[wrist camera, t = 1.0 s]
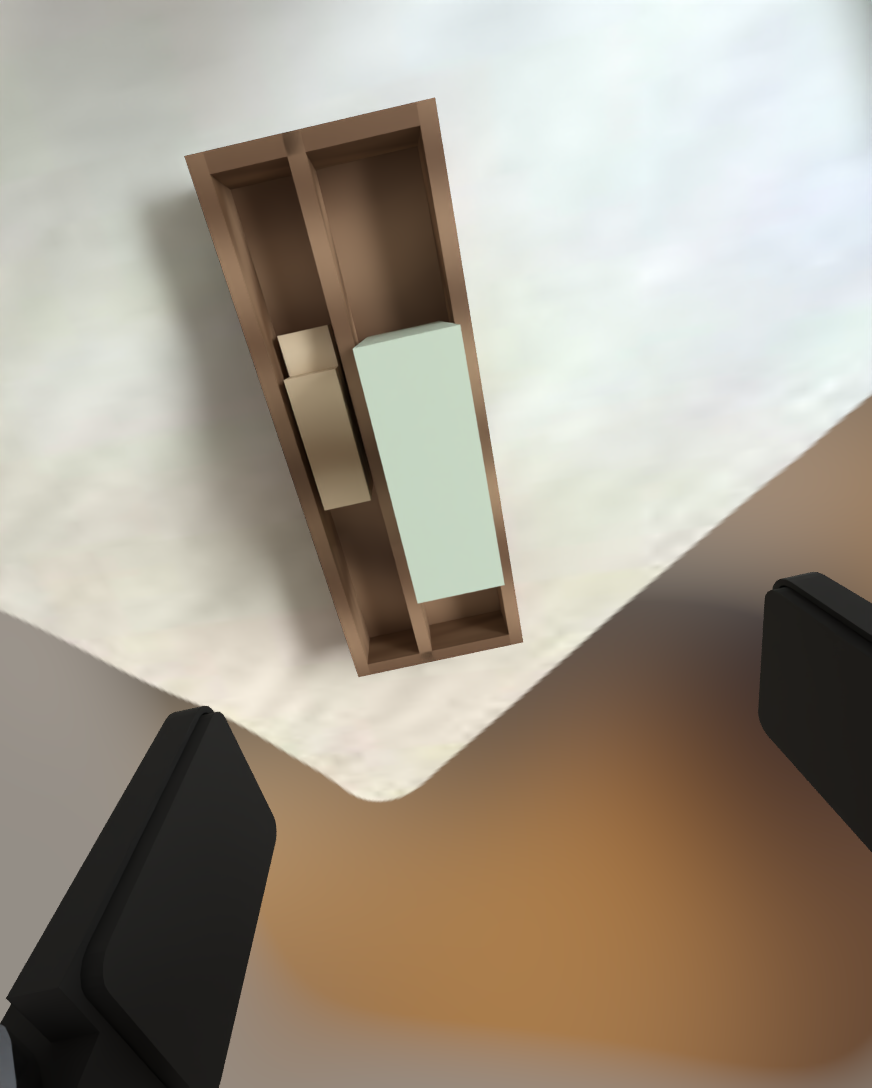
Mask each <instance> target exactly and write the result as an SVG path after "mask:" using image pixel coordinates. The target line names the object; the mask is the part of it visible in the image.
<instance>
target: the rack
mask: <svg viewBox="0 0 872 1088" xmlns="http://www.w3.org/2000/svg"><path fill="white" fill-rule="evenodd" d="M184 157H185V160H186V163H187V166H188V169H189V172H190V175H191V178H192V181H193V184H194V187H195V190H196V193H197V196H198V199H199V202H200V204H201V207H202V210H203V213H204V216H205V219H206V222H207V225H208V228H209V231H210V234H211V237H212V240H213V243H214V246H215V249H216V252H217V255H218V258H219V261H220V264H221V267H222V270H223V273H224V276H225V279H226V282H227V285H228V288H229V291H230V294H231V297H232V300H233V303H234V306H235V309H236V312H237V315H238V318H239V321H240V324H241V327H242V330H243V333H244V336H245V339H246V342H247V345H248V348H249V351H250V354H251V357H252V360H253V363H254V366H255V369H256V372H257V375H258V378H259V381H260V384H261V387H262V390H263V393H264V396H265V399H266V402H267V405H268V408H269V411H270V414H271V417H272V420H273V423H274V426H275V429H276V432H277V435H278V438H279V441H280V444H281V447H282V450H283V453H284V456H285V459H286V462H287V464H288V467H289V470H290V473H291V476H292V479H293V482H294V485H295V488H296V491H297V494H298V497H299V500H300V503H301V506H302V509H303V512H304V515H305V518H306V521H307V524H308V527H309V530H310V533H311V536H312V539H313V542H314V545H315V548H316V551H317V554H318V557H319V560H320V563H321V566H322V569H323V572H324V575H325V578H326V581H327V584H328V587H329V590H330V593H331V596H332V599H333V602H334V605H335V608H336V611H337V614H338V617H339V620H340V623H341V626H342V629H343V632H344V635H345V638H346V641H347V644H348V647H349V650H350V653H351V656H352V659H353V662H354V665H355V668H356V671H357V674H358V677H361V676H366V675H371V674H375V673H380V672H385V671H389V670H394V669H399V668H404V667H408V666H413V665H418V664H422V663H427V662H432V661H437V660H441V659H446V658H451V657H456V656H460V655H465V654H470V653H474V652H479V651H484V650H489V649H493V648H498V647H503V646H508V645H512V644H517V643H522V642H523V638H522V632H521V626H520V620H519V613H518V607H517V601H516V595H515V589H514V583H513V576H512V570H511V564H510V558H509V552H508V546H507V539H506V533H505V527H504V521H503V515H502V508H501V502H500V496H499V490H498V484H497V478H496V471H495V465H494V459H493V453H492V447H491V441H490V434H489V428H488V422H487V416H486V410H485V403H484V397H483V391H482V385H481V379H480V373H479V366H478V360H477V354H476V348H475V342H474V336H473V329H472V323H471V317H470V311H469V305H468V299H467V292H466V286H465V280H464V274H463V268H462V261H461V255H460V249H459V243H458V237H457V231H456V224H455V218H454V212H453V206H452V200H451V194H450V187H449V181H448V175H447V169H446V163H445V156H444V150H443V144H442V138H441V132H440V126H439V119H438V113H437V107H436V101H435V98H431V99H427V100H422V101H418V102H414V103H410V104H405V105H401V106H397V107H393V108H388V109H384V110H380V111H375V112H371V113H367V114H363V115H358V116H354V117H350V118H345V119H341V120H337V121H333V122H328V123H324V124H320V125H316V126H311V127H307V128H303V129H298V130H294V131H290V132H286V133H281V134H277V135H273V136H268V137H264V138H260V139H256V140H251V141H247V142H243V143H239V144H234V145H230V146H226V147H221V148H217V149H213V150H209V151H204V152H200V153H196V154H191V155H187V156H184ZM436 321H443V322H449V323H454V324H460V326H461V332H462V338H463V344H464V350H465V355H466V361H467V367H468V373H469V379H470V385H471V391H472V397H473V402H474V408H475V414H476V420H477V426H478V432H479V438H480V443H481V449H482V455H483V461H484V467H485V473H486V479H487V484H488V490H489V496H490V502H491V508H492V514H493V520H494V526H495V531H496V537H497V543H498V549H499V555H500V561H501V567H502V572H503V578H504V584H505V585H502V586H497V587H493V588H488V589H483V590H479V591H474V592H469V593H465V594H460V595H455V596H451V597H446V598H441V599H437V600H432V601H427V602H423V603H417V599H416V595H415V591H414V587H413V583H412V579H411V575H410V572H409V568H408V564H407V560H406V556H405V552H404V548H403V544H402V540H401V536H400V532H399V528H398V525H397V521H396V517H395V513H394V509H393V505H392V501H391V497H390V493H389V489H388V485H387V482H386V478H385V474H384V470H383V466H382V462H381V458H380V454H379V450H378V446H377V442H376V439H375V435H374V431H373V427H372V423H371V419H370V415H369V411H368V407H367V403H366V399H365V395H364V392H363V388H362V384H361V380H360V376H359V372H358V368H357V364H356V360H355V356H354V352H353V348H354V347H355V346H357V345H358V344H359V343H360V342H362V341H363V340H364V339H365V338H366V337H370V336H374V335H379V334H383V333H388V332H392V331H396V330H401V329H405V328H410V327H414V326H419V325H423V324H428V323H432V322H436ZM330 324H331V326H332V330H333V334H334V338H335V341H336V345H337V349H338V353H339V356H340V360H341V364H342V368H343V371H344V375H345V379H346V382H347V386H348V390H349V394H350V397H351V401H352V405H353V409H354V412H355V416H356V420H357V424H358V427H359V431H360V435H361V439H362V442H363V446H364V450H365V454H366V457H367V461H368V465H369V469H370V472H371V476H372V480H373V489H372V496H371V501H366V502H361V503H357V504H352V505H348V506H343V507H339V508H334V509H329V510H324V507H323V504H322V500H321V497H320V494H319V491H318V488H317V484H316V481H315V478H314V475H313V472H312V469H311V465H310V462H309V459H308V456H307V453H306V450H305V446H304V443H303V440H302V437H301V434H300V431H299V427H298V424H297V421H296V418H295V415H294V412H293V408H292V405H291V402H290V399H289V396H288V393H287V389H286V386H285V383H284V380H285V379H287V378H289V377H290V376H289V373H288V370H287V366H286V363H285V360H284V357H283V353H282V350H281V347H280V344H279V341H278V337H277V336H281V335H285V334H290V333H294V332H298V331H303V330H307V329H312V328H316V327H321V326H325V325H330Z"/></svg>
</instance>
